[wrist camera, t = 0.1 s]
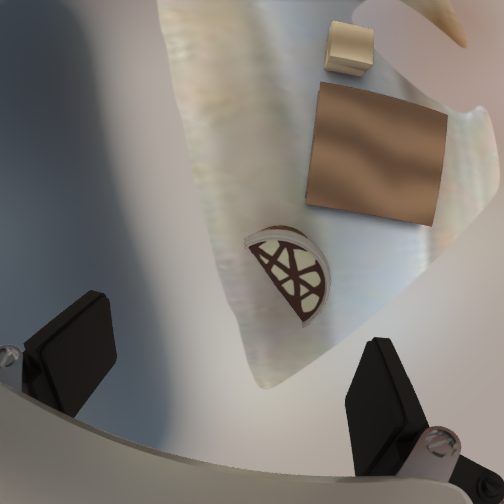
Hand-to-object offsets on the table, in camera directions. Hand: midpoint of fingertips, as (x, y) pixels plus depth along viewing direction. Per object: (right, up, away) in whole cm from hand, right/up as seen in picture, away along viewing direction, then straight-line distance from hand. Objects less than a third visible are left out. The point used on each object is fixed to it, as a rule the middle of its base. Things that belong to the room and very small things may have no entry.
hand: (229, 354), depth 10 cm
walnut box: (+16, +16, +26) cm, 35 cm away
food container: (+7, +4, +31) cm, 32 cm away
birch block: (+13, +29, +22) cm, 39 cm away
